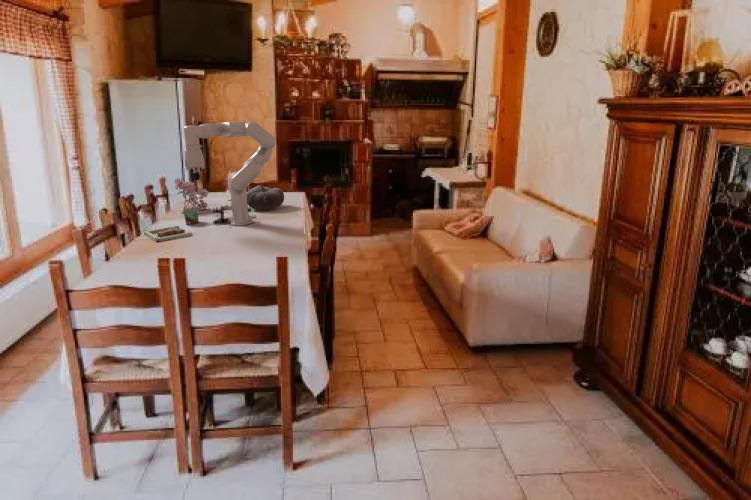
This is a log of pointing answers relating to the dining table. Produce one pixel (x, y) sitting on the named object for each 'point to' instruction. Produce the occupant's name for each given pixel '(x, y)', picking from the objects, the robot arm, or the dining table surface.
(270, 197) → the gourd
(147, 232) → the sage-green bay
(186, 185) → the flower
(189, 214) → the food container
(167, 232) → the walnut T block
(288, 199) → the dining table surface
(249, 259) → the dining table surface
